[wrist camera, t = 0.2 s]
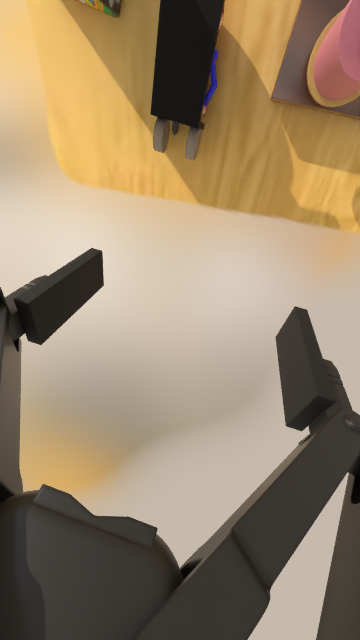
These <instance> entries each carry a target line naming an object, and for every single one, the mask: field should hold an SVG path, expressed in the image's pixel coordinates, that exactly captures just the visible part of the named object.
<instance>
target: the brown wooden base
mask: <svg viewBox="0 0 360 640" xmlns="http://www.w3.org/2000/svg"><path fill="white" fill-rule="evenodd" d="M349 1H350V0H301V4H300V7H299V10H298V13H297V16H296V20H295V23H294V26H293V29H292V32H291V36H290V39H289V42H288V45H287V49H286V52H285V55H284V58H283V61H282V65H281V68H280V71H279V74H278V77H277V81H276V84H275V87H274V90H273V93H272V97H271V100H272V101H276V102H281V103H286V104H290V105H295V106H300V107H304V108H309V109H314V110H319V111H323V112H328V113H333V114H337V115H342V116H347V117H351V118H356V119H360V96H359V97H358V98H356V99H354V100H353V101H351V102H349V103H347V104H345V105H342V106H338V107H325V106H322V105H320V104H319V103H317V102H316V101H315V100H314V99H313V97H312V96H311V94H310V91H309V88H308V84H307V70H308V64H309V59H310V56H311V53H312V51H313V48H314V46H315V44H316V42H317V40H318V38H319V37H320V35H321V33H322V32H323V30H324V29H325V27H326V26H327V25H328V24H329V22H330V21H331V20H332V19H333V18H334V17H335V16H336V15H337V14H338V13H339V12H341V11H342V10H343V9H344V8H345V7H346V6H347V4H348V3H349Z"/></svg>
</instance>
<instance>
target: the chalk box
mask: <svg viewBox="0 0 360 640" xmlns="http://www.w3.org/2000/svg"><path fill="white" fill-rule="evenodd" d="M77 1H79V2H82V3H84V4H86V5H89V6H91V7H93V8H96V9H98V10H100V11H103V12H105V13H107V14H110V15H112V16H114V17H119V13H120V3H121V0H77Z"/></svg>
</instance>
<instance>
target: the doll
mask: <svg viewBox="0 0 360 640" xmlns="http://www.w3.org/2000/svg"><path fill="white" fill-rule="evenodd" d="M307 84H308V88H309V91H310V94H311V96H312V97H313V99H314V100H315V101H316V102H317V103H319V104H320V105H322V106H325V107H338V106H342V105H345V104H347V103H349V102H351V101H353V100H354V99H356V98H358V97H359V96H360V0H350V1H349V3H348V4H347V6H346V7H345V8H344V9H343V10H342V11H341V12H339V13H338V14H337V15H336V16H335V17H334V18H333V19H332V20H331V21H330V22H329V24H328V25H327V26H326V27H325V29H324V30H323V32H322V33H321V35H320V37H319V38H318V40H317V42H316V44H315V46H314V48H313V51H312V53H311V56H310V59H309V64H308V70H307Z"/></svg>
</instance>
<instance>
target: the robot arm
mask: <svg viewBox="0 0 360 640" xmlns="http://www.w3.org/2000/svg"><path fill="white" fill-rule="evenodd" d="M102 286H104V281H103V258H102V251H101V250H97V249H93V248H91V249H89V250H88V251H86V252H85V253H83V254H82V255H80V256H79V257H77V258H76V259H74V260H72V261H71V262H69V263H68V264H67V265H65V266H63V267H62V268H60V269H59V270H57V271H56V272H54V273H52V274H51V275H49V276H46V275H45V276H41V277H38V278H36V279H34V280H32V281H31V282H29V284H26V285H24V286H23V287H21V288H19V289H18V290H16V291H15V292H13V293H11V294H10V295H8V296H7V297H4V296H3V292H2V290H1V287H0V640H247V639H248V638H249V636H250V635H251V633H252V632H253V630H254V628H255V627H256V625H257V623H258V622H259V621H260V619H261V617H262V615H263V614H264V612H265V610H266V608H267V607H268V604H269V601H270V589H271V586H272V585H273V583H274V581H275V580H276V578H277V577H278V575H279V574H280V572H281V571H282V569H283V568H284V566H285V565H286V563H287V562H288V560H289V559H290V557H291V556H292V554H293V553H294V551H295V550H296V548H297V547H298V545H299V544H300V543H301V541H302V540H303V538H304V536H305V535H306V534H307V532H308V531H309V529H310V528H311V526H312V525H313V523H314V521H315V520H316V519H317V517H318V516H319V514H320V513H321V511H322V509H323V508H324V507H325V505H326V504H327V502H328V501H329V499H330V498H331V496H332V495H333V493H334V492H335V490H336V489H337V487H338V485H339V484H340V483H341V481H342V480H343V478H344V476H345V475H346V474H347V472H349V476H348V481H347V486H346V491H345V496H344V501H343V506H342V511H341V516H340V521H339V527H338V531H337V537H336V542H335V547H334V552H333V557H332V562H331V567H330V572H329V577H328V582H327V587H326V593H325V597H324V602H323V607H322V612H321V618H320V623H319V628H318V633H317V638H316V640H360V415H359V414H357V413H356V412H354V411H353V410H352V407H351V405H350V402H349V399H348V397H347V394H346V391H345V389H344V387H343V383H342V380H340V375H339V372H338V370H337V368H336V367H335V366H334V365H333V363H332V362H331V361H328V360H325V359H323V358H322V355H321V352H320V349H319V345H318V342H317V340H316V336H315V333H314V330H313V327H312V324H311V321H310V318H309V315H308V311H307V310H306V309H302V308H298V307H294V309H293V310H292V312H291V314H290V315H289V317H288V318H287V320H286V322H285V323H284V325H283V326H282V328H281V329H280V331H279V333H278V334H277V336H276V345H277V353H278V362H279V371H280V379H281V388H282V395H283V405H284V414H285V422H286V426H287V427H290V428H293V429H297V430H300V431H303V430H304V429H305V428H306V427H307V426H308V425H309V431H310V434H309V435H308V436H307V437H305V439H303V440H302V441H301V442H299V445H298V446H297V447H296V448H295V449H294V450H293V451H292V452H291V453H290V455H289V456H288V457H287V458H286V459H285V460H284V461H283V462H282V463H281V464H280V465H279V466H278V467H277V468H276V469H275V470H274V471H273V472H272V474H271V475H270V476H269V477H268V478H267V479H266V480H265V481H264V482H263V483H262V484H261V485H260V486H259V487H258V488H257V489H256V490H255V491H254V492H253V493H252V495H251V496H250V497H249V498H248V499H247V500H246V501H245V502H244V503H243V504H242V505H241V506H240V507H239V509H237V510H236V511H235V513H234V514H233V515H232V516H231V517H230V518H229V519H228V520H227V521H226V522H225V523H224V524H223V525H222V526H221V527H220V528H219V529H218V530H217V531H216V532H215V534H214V535H213V536H212V537H211V538H210V539H209V540H208V541H207V542H206V543H205V544H203V546H201V547H200V548H199V549H198V550H197V551H196V552H195V553H194V554H193V555H192V556H191V557H190V558H189V559H188V560H187V561H186V562H185V563H184V564H183V565H182V566H181V567H180V568H179V566H178V563H177V561H176V559H175V557H174V555H173V553H172V552H171V550H170V548H169V547H168V545H167V544H166V543H165V542H164V541H163V540H162V538H160V537H159V536H158V535H157V534H156V532H157V528H156V527H153V526H151V525H148V524H146V523H143V522H141V521H138V520H136V519H133V518H130V517H115V516H114V517H113V516H95V515H93V514H92V513H91V512H89V511H88V510H87V509H86V508H85V507H84V506H83V505H82V504H80V503H79V502H78V501H77V500H76V499H75V498H74V497H73V496H72V495H70V494H68V493H65V492H63V491H60V490H57V489H55V488H52V487H50V486H47V485H45V484H43V485H42V487H41V488H40V490H35V491H28V492H24V493H23V485H22V479H21V475H20V469H19V450H20V447H19V446H20V393H21V339H20V337H21V336H22V335H23V334H24V333H26V336H27V339H28V341H30V342H33V343H36V344H39V345H42V344H43V343H44V342H45V341H46V340H47V339H48V338H49V337H50V336H51V335H52V334H53V333H54V332H55V331H56V330H57V329H58V328H60V327H61V326H62V325H63V324H64V323H65V322H66V321H67V320H68V319H69V318H70V317H71V316H72V315H73V314H74V313H75V312H76V311H77V310H78V309H79V308H81V307H82V306H83V305H84V304H85V303H86V302H87V301H88V300H89V299H90V298H91V297H92V296H93V295H94V294H95V293H96V292H97V291H98V290H99V289H100V288H102Z"/></svg>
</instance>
